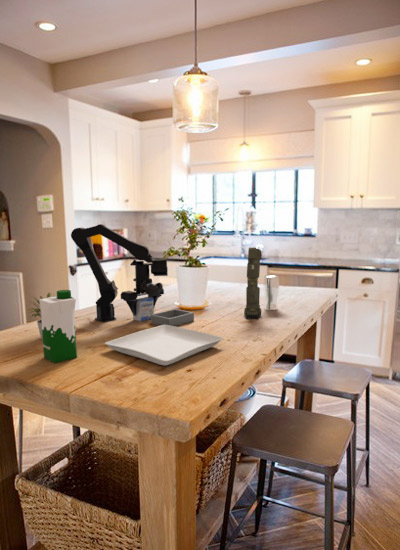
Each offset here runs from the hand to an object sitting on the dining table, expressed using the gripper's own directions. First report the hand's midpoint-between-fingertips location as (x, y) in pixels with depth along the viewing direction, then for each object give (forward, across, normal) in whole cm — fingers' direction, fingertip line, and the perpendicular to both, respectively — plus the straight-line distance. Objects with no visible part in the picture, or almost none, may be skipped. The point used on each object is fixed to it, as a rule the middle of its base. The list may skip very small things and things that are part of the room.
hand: (143, 313), depth 167 cm
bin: (+2, +4, -13) cm, 14 cm away
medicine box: (+2, 0, 0) cm, 2 cm away
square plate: (+3, -21, -35) cm, 41 cm away
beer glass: (+2, +50, -30) cm, 58 cm away
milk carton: (+2, -47, -17) cm, 50 cm away
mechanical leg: (+2, +34, -31) cm, 46 cm away
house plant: (+2, -39, +6) cm, 40 cm away
